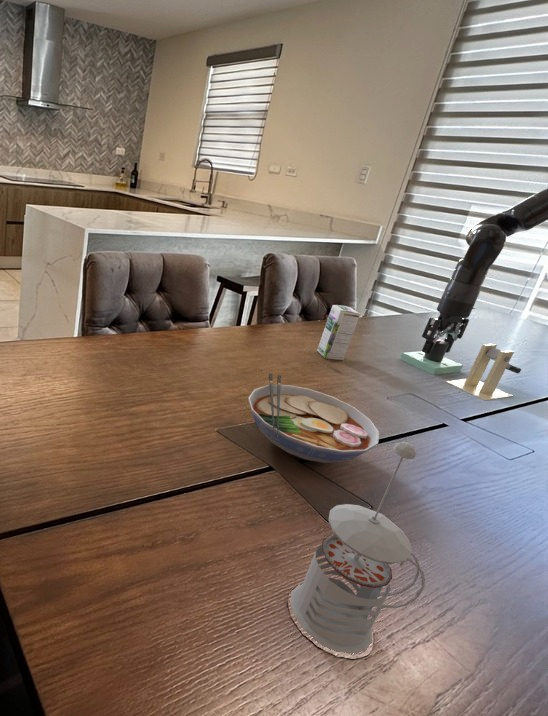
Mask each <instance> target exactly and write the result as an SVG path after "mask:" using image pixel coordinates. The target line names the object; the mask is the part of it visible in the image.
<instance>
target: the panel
mask: <svg viewBox="0 0 548 716" xmlns="http://www.w3.org/2000/svg"><path fill="white" fill-rule="evenodd" d="M424 354H425V353H424V352H422V350H421V351H410V352H409V351H407V352H402V354H401V355H400V360H401V361H403V362H405V363H407V364H409V365H412V366H414V367H415V368H418V369H420V370H422V371H425V372H427V373H429V374H430V375H433V376H434V375H443V374H452V373H460V372H461V370H462V369H463V367H464V365H463V364H461V363H459V362H456V361H455V360H452V359H449V358H447V357H446V356H444V357H443V359H442V361H441V362H435V361H431V360H428V359H426V358H425V357H424Z"/></svg>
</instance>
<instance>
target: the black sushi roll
mask: <svg viewBox="0 0 548 716" xmlns="http://www.w3.org/2000/svg"><path fill="white" fill-rule="evenodd" d="M448 346H449V343H448V342H446V341H444V339H441V338H439V339H438V340H437V341H436V343H435V345H434V347H433V350H432V352H431V354H426V353H425V354H424V357H425V358H426V359H428V360H431V361H435V362H441V361H442V359H443V357H445V354H447V353H446V350H447V348H448Z"/></svg>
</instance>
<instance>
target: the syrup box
mask: <svg viewBox="0 0 548 716" xmlns="http://www.w3.org/2000/svg"><path fill="white" fill-rule="evenodd" d="M360 316H361V313H360V312H358V311H356V309H354V308H353V307H350V306H347V305H341V304H332V306H331V309H330V312H329V314H328V317H327V319H326V323H325V326H324V329H323V331H322V336H321V338H320V340H319V344H318V347H317V350H316V351H317V353H319V354H320V355H321V356H322V357H323V358H324V359H328V360H337V361H344V359H345V358H346V354H347V352H348V349H349V346H350V344H351V341H352V338H353V335H354V332H355V330H356V327H357V325H358V322H359V319H360Z"/></svg>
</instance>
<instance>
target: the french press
mask: <svg viewBox="0 0 548 716" xmlns="http://www.w3.org/2000/svg"><path fill="white" fill-rule="evenodd" d="M392 450H393V452H394V454H395V455H396V456H399V457H400V458H399V461H398V463H397V465H396V466H395V467H396V468H395V469H394V472H393V474H392V476H391V478H390V481H389V483H388V486H387V487H386V490H385V492H384V494H383V497H382V498H381V501H380V502H379V505H378V508H377V510H376V511H375V510H372V509H370V508H368V507H365V506H361V505H359V504H349V503H344V504H336V505H335V506H333V508H331V509H330V510H329V514H328V523H329V525H330V528H331V530H332V532H333V534H330V535H327V536H326V537H325V538H324V539H322V541H321V542H322V543H321V544H320V545H319V546H317V548H316V550H315V552H314V554H313V556H312V559H311V562H310V565H309V567H308V569H307V572H306V575H305V577H304V579H303V582H302V583H301V584H302V585H300V584H297V585H298V586H297V587H296V588H295V589H294V590H292V589H291V590H292V592H291V599H290V605H291V608H292V610H293V614H294V615H295V618H297V620H298V622H299V624H300V625H301V626H302V628H303V629H304V631H306V632H307V633H308V634H309V635H311V637H313V639H314V640H315V641H317V642H318V643H320V644H321V645H322V646H324V647H327V648H329V649H330V650H331V649H332V650H334V651H336V652H344V653H345V652H346V653H349V654H350V653H351V655H352V654H353V653H354V654H355V653H359V652H361V651H364V652H365V651H366V650H367V648H368V647H369V645H370V644H371V643H372V630H373V626H374V624H375V622H376V620H377V618H378V616H379V614H380V613H381V611H382V609H398V608H402V607H407V606H408V605H410V604H412V603H414V602H415V601H416V600H418V598H419V597H420V596H421V594H422V592H423V590H424V589H425V587H426V577H425V573H424V571H423V570H422V569H421V567H420V563H419V561H420V560H419V559H418V557H416V555H415V554H414V552H412V545H411V541H410V540H409V538H408V537H407V536H406V534H405V532H404V531H403V530H402V529H401V528H400V527H399V526H397V525H396V523H394V522H393V521H391V520H390V519H389V518H388V517H387V516H385V515H384V514H383V513H381V511H380V510H381V508H382V506H383V504H384V502H385V500H386V497H387V495H388V493H389V491H390V489H391V486H392V484H393V482H394V480H395V477H396V475H397V473H398V471H399V468H400V466H401V464H402V462H403V460H404V459H405V460H414V459H415V457H417V456H416V455H417V451H416V448H415V446H414V445H413V444H411V443H410V442H408V441H401V442H397V443H396V444H394V445H393V449H392ZM410 555H411V557H412V558H413V559H414V560H413V559H412V558H409V557H410ZM321 556H324V557H323V558H320V559H317V558H319V557H321ZM406 561H407V562H410V563H411V564H412V565H414V567H416V574H415V575H414V578H413V579H412V581H411V582H410V583H409V584H408V585H407V586H406V587H404V588H403V589H402V590H399V591H395V592H390V591H391V586H390V585H391V584H390V582H391V581H392V580H393V571H392V568H391V566H390V565H393V564H398V565H399V566H400V567H403V565H404V564H405V562H406ZM324 562H325V564H321V563H324ZM326 562H327V563H326ZM320 564H321V565H320ZM328 568H332V569H329V570H324V569H328ZM327 575H334V576H338V577H341V578H342V579H344V580H345V581H346V582H348V583H349V584H350V585H351V586H352V587H353V588H351V587H350V586H349V585H348V584H346V583H345V582H344V581H342V580H341V579H338V578H334V577H332V576H327ZM419 576H420V578H421V585H420V587H419V589H418V590H417V592H416V594H415V595H414V596H413V597H412V598H409V600H408V601H406V602H403V603H398V604H385V601H386V599H387V598H388V596H389V597H390V596H397V595H400V594H403V593H405V592H406V591H408V590H410V589H411V588H412V587H413V586H415V584H416V582H417V580H418V578H419ZM384 587H386V589H385V591H384V592H382V590H383V588H384ZM353 589H354V590H355V591H356V592H357V593H355V592H354V591H353ZM379 597H380V598H379ZM384 604H385V605H384ZM373 608H376V609H375V610H372V609H373ZM369 616H372V617H371V618H369ZM371 628H372V629H371Z"/></svg>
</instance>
